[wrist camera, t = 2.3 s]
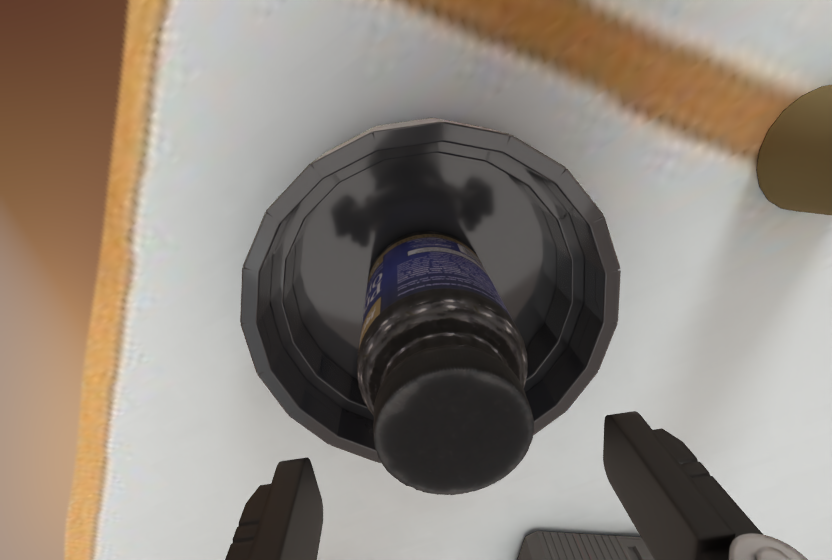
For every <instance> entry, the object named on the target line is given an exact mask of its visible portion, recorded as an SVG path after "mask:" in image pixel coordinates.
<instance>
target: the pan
mask: <svg viewBox="0 0 832 560" xmlns="http://www.w3.org/2000/svg"><path fill="white" fill-rule="evenodd" d="M424 231H432V232H439V233H443V234H447V235H451V236H454V237H456V238H458V239H459V240H461V241H462V242H463V243H465V244H466V245H467V246H468V247H469V248H470V249H471V250H472V251H473V252H474V253H475V254H476V255H477V256H478V258H479V260H480V261H481V263H482V265H483V267H484V268H485V270H486V272H487V274H488V275H489V277H490V279H491V281H492V283H493V285H494V286H495V288H496V290H497V292H498V294H499V296H500V297H501V299H502V301H503V303H504V305H505V307H506V308H507V310H508V312H509V314H510V316H511V317H512V319H513V321H514V323H515V325H516V327H517V329H518V330H519V332H520V334H521V336H522V338H523V340H524V344H525V349H526V353H527V362H528V364H527V365H528V367H527V377H526V381H525V386H524V391H525V394H526V397H527V399H528V402H529V405H530V407H531V410H532V414H533V418H534V430H533V435H534V434H536V433H537V432H539V431H540V430H541V429H543V428H544V427H545V426H547V425H548V424H550V423H551V422H552V421H554V420H555V419H556V418H558V417H559V416H561V415H562V414H563V413H565V412H566V411H567V410H568V409H569V408H570V406H571V405H572V404H573V403H574V401H575V400H576V399H577V398H578V396H579V395H580V394H581V393H582V391H583V390H584V389H585V388H586V386H587V385H588V384H589V383H590V381H591V380H592V379H593V378H594V376H595V375H596V374H597V373H598V370H599V369H600V366H601V364H602V361H603V359H604V356H605V354H606V351H607V349H608V346H609V344H610V341H611V339H612V336H613V334H614V331H615V329H616V326H617V322H618V310H619V290H620V265H619V262H618V259H617V256H616V253H615V249H614V246H613V243H612V240H611V237H610V233H609V230H608V227H607V224H606V221H605V217H604V216H603V213H602V212H601V211H600V210H599V208H598V207H597V206H596V204H595V203H594V202H593V201H592V199H591V198H590V197H589V196H588V194H587V193H586V192H585V191H584V189H583V188H582V187H581V186H580V184H579V183H578V182H577V180H576V179H575V178H574V177H573V175H572V174H571V173H570V172H569V170H568V169H566V168H565V167H564V166H563V165H561V164H559V163H558V162H556V161H554V160H553V159H551V158H549V157H548V156H546V155H544V154H543V153H541V152H539V151H538V150H536V149H534V148H533V147H531V146H529V145H528V144H526V143H524V142H523V141H521V140H519V139H518V138H516V137H514V136H513V135H510V134H507V133H503V132H500V131H496V130H492V129H489V128H484V127H479V126H474V125H469V124H464V123H459V122H454V121H448V120H443V119H438V118H426V119H419V120H412V121H405V122H398V123H391V124H384V125H378V126H375V127H373V128H371V129H369V130H367V131H365V132H363V133H361V134H359V135H357V136H355V137H353V138H352V139H350V140H348V141H346V142H344V143H342V144H340V145H338V146H336V147H334V148H332V149H330V150H328V151H327V152H325V153H324V154H323V155H321V156H320V157H319V158H317V159H316V160H315V161H313V162H312V163H311V164H309V165H308V166H307V167H306V169H305V170H304V171H303V172H302V173H301V174H300V175H299V176H298V177H297V178H296V179H295V180H294V181H293V182H292V184H291V185H290V186H289V187H288V188H287V189H286V190H285V191H284V192H283V193H282V194H281V195H280V196H279V197H278V199H277V200H276V201H275V202H274V203H273V204H272V205H271V206H270V207H269V208H268V209H267V210H266V213H265V214H264V217H263V219H262V221H261V224H260V226H259V229H258V231H257V233H256V236H255V238H254V241H253V243H252V245H251V248H250V250H249V252H248V255H247V257H246V260H245V262H244V264H243V268H242V291H241V319H240V322H241V327H242V330H243V333H244V336H245V339H246V342H247V345H248V348H249V351H250V354H251V357H252V360H253V363H254V366H255V369H256V372H257V373H258V376H259V377H260V378H261V380H262V381H263V382H264V384H265V385H266V386H267V388H268V389H269V390H270V392H271V393H272V394H273V396H274V397H275V398H276V400H277V401H278V402H279V404H280V405H281V406H282V408H283V409H284V410H285V411H286V413H287V414H289V416H290V417H291V418H293V419H294V420H295V421H297V422H298V423H300V424H301V425H302V426H304V427H305V428H307V429H308V430H309V431H311V432H312V433H313V434H315V435H316V436H318V437H319V438H320V439H322V440H323V441H325V442H326V443H327V444H330V445H331V446H334V447H337V448H340V449H342V450H345V451H348V452H351V453H353V454H356V455H359V456H361V457H364V458H367V459H370V460H372V461H375V462H378V463H382V462H381V461H380V459H379V457H378V454H377V451H376V449H375V445H374V434H373V423H374V415H373V414H372V413H371V412H370V410H368V408H367V405H366V404H365V402H364V401H363V398H362V395H361V391H360V389H359V383H358V379H357V359H358V354H359V346H360V337H361V329H362V321H363V312H364V305H365V297H366V290H367V282H368V276H369V273H370V270H371V266H372V264H373V262H374V261H375V259H376V258H377V257H378V256H379V255H380V254H381V253H382V252H383V250H384V249H385V248H386V247H387V246H389V245H390V244H391V243H392V242H393V241H395V240H396V239H398V238H400V237H403V236H405V235H407V234H411V233H416V232H424Z"/></svg>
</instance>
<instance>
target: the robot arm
mask: <svg viewBox="0 0 832 560" xmlns="http://www.w3.org/2000/svg"><path fill="white" fill-rule="evenodd" d="M603 462H604V467H605V471H606V475H607V477H608V480H609V482H610V484H611V486H612V487H613V489H614V491H615V493H616V494H617V496H618V498H619V500H620V501H621V503H622V505H623V506H624V508H625V510H626V512H627V513H628V515H629V517H630V519H631V520H632V522H633V524H634V525H635V527H636V529H637V531H638V532H639V534H640V536H641V538H642V539H643V541H644V543H645V544H646V546H647V548H648V550H649V551H650V553H651V555H652V557H653V558H654V560H808V559H807V558H806V557H804V556H803V555H802V554H801V553H800V552H798V551H797V550H796V549H794V548H793V547H791V546H790V545H788V544H786V543H784V542H782V541H780V540H778V539H775V538H773V537H770V536H766V535H763V534H762V533H761V531H760V530H759V529H758V528H757V527H756V526H755V525H754V524H753V522H752V521H751V520H750V519H749V518H748V517H747V516H746V514H745V513H744V512H743V511H742V510H741V509H740V508H739V506H738V505H737V504H736V503H735V502H734V501H733V499H732V498H731V497H730V496H729V495H728V494H727V493H726V491H725V490H724V489H723V488H722V487H721V486H720V484H719V483H718V482H717V481H716V480H715V479H714V478H713V476H710V475H709V472H708V471H707V469H706V468H705V467H704V466H703V465H702V464H701V463H700V462H698V461H697V458H696V457H695V456H694V454H693V453H692V452H691V451H690V450H689V449H688V448H687V446H686V445H685V444H684V443H683V442H682V441H681V440H679V439H677V438H676V437H674V436H673V435H671V434H670V433H668V432H667V431H665V430H664V429H656V430H652V429H651V428H650V426H649V425H648V424H647V423H646V421H645V420H644V419H643V418H642V416H641V415H640V414H639V413H638V412H635V411H634V412H627V413H620V414H613V415H607V416H606V417H605V423H604V450H603ZM322 524H323V504H322V498H321V495H320V491H319V488H318V485H317V481H316V478H315V474H314V471H313V468H312V464H311V461H310V459H309V458H301V459H294V460H287V461H281V462H279V463H278V465H277V468H276V471H275V474H274V477H273V480H272V483H271V484H267V485H260V486H259V487H258V489H257V490H256V491H255V493H254V494H253V495H252V496H251V498H250V499H249V500H248V502H247V503H246V505H245V507H244V510H243V513H242V516H241V518H240V521H239V527H237V529H236V532H235V535H234V537H233V543H232V544H231V545H230V548H229V551H228V554H227V556H226V559H225V560H317V554H318V548H319V542H320V536H321V530H322Z"/></svg>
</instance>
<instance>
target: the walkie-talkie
mask: <svg viewBox="0 0 832 560" xmlns="http://www.w3.org/2000/svg"><path fill="white" fill-rule="evenodd" d="M518 560H654V558H653V557H652V555H651V553H650V551H649V550H648V548H647V546H646V544H645V543H644V541H643V539H642V538H641V537H629V536H611V535H595V534H577V533H560V532H545V531H536V532H534V533H532V534H530V535H528V536H526V537H525V539H524V542H523V545H522V548H521V551H520V554H519V557H518Z"/></svg>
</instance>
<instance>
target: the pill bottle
mask: <svg viewBox="0 0 832 560" xmlns="http://www.w3.org/2000/svg"><path fill="white" fill-rule="evenodd" d="M527 364H528V362H527V353H526V349H525V344H524V340H523V338H522V336H521V334H520V332H519V330H518V329H517V327H516V325H515V323H514V321H513V319H512V317H511V316H510V314H509V312H508V310H507V308H506V307H505V305H504V303H503V301H502V299H501V297H500V296H499V294H498V292H497V290H496V288H495V286H494V285H493V283H492V281H491V279H490V277H489V275H488V274H487V272H486V270H485V268H484V267H483V265H482V263H481V261H480V260H479V258H478V256H477V255H476V254H475V253H474V252H473V251H472V250H471V249H470V248H469V247H468V246H467V245H466V244H465V243H463V242H462V241H461V240H459V239H458V238H456V237H454V236H451V235H447V234H443V233H439V232H432V231H424V232H416V233H411V234H407V235H405V236H403V237H400V238H398V239H396V240H395V241H393V242H392V243H391V244H390V245H389V246H387V247H386V248H385V249H384V250H383V252H382V253H381V254H380V255H379V256H378V257H377V258H376V259H375V261H374V262H373V264H372V266H371V270H370V273H369V276H368V282H367V290H366V297H365V305H364V312H363V321H362V329H361V337H360V346H359V354H358V359H357V379H358V383H359V389H360V391H361V395H362V398H363V401H364V402H365V404H366V405H367V408H368V410H370V412H371V413H372V414H373V415H374V423H373V434H374V445H375V449H376V451H377V454H378V457H379V459H380V461H381V462H382V464H383V466H384V467H385V468H386V470H387V471H388V472H389V473H390V474H391V475H392V476H394V477H395V478H396V479H398V480H399V481H400V482H401V483H404V484H405V485H406V486H411V487H413V488H415V489H416V490H420V491H423V492H427V493H432V494H437V495H438V494H444V495H449V494H450V495H455V494H463V493H468V492H471V491H476V490H479V489H482V488H485V487H487V486H489V485H491V484H494V483H495V482H497V481H499V480H501V479H502V478H504V477H505V476H506V475H508V474H509V473H510V472H511V471H512V470H513V469H515V468H516V466H517V465H518V464H519V463H520V461H522V459H523V457H524V456H525V455H526V453H527V451H528V449H529V446H530V444H531V441H532V439H533V430H534V418H533V414H532V410H531V407H530V405H529V402H528V399H527V397H526V394H525V391H524V386H525V381H526V377H527V367H528V365H527Z"/></svg>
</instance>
